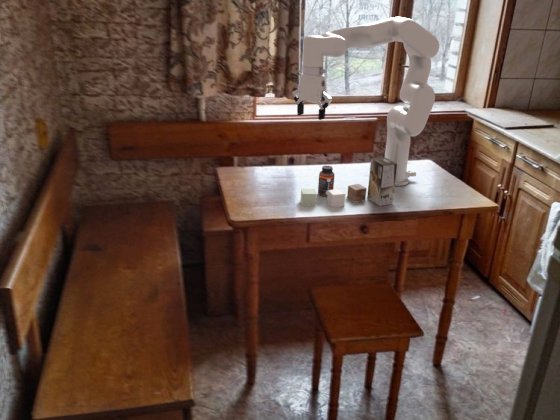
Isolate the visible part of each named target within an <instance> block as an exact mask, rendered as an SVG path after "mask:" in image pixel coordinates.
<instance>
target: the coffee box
mask: <svg viewBox="0 0 560 420" xmlns="http://www.w3.org/2000/svg"><path fill="white" fill-rule="evenodd" d="M369 165H370V167H369V176H368V177H369V178H368V187H367V194H366V195H367V196H366V197H367V199H369V200H370V201H372V202H373V203H374V204H375V205H377V206H379V207H380V206H381V207H382V206H386V205H392V204H393V201H394V193H395V187H396V186H395V178H396V170H397V164H396V163H394V162H392V161H391V160H389V159H387V158H385V156H382V157H373V158H371V159H370V164H369Z"/></svg>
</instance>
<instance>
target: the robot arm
mask: <svg viewBox="0 0 560 420" xmlns="http://www.w3.org/2000/svg"><path fill="white" fill-rule="evenodd" d="M394 42H398V43H399V42H400V43H403V48H404V50H405V52H406V54H407V57H408V62H409V63H408V68H407V72H406V74H405V77H404V80H403V83H402V84H401V88H400V91H399V99H400V101H402V102H403V103H405V104H406V105H409V107H406V106H403V105H396V106H394V107H392V108H391V109H390V110H389V111H388V113H387V117H386V129H387V130H386V133H387V134H386V143H385V150H384V151H385V153H384V157H385V158H387V159H389V160H391V161H392V162H394V163H396V164H397V170H396V178H395V186H394V187H402V186H406V185H408V184H409V183H410V179H409V178H410V177H416V176H417V172H416V171H410V170H407V168H408V163H409V162H408V161H409V154H410V147H411V137H416V136H418V135H420V134H421V133H422V131H423V130H424V128H425V127H426V124H427V122H428V119H429V116H430V115H431V112H432V110H433V108H434V104H435V100H436V94H435V93H436V92H435V90H434V88H433V87H432V86H431V85H429V84H428V80H429V78H430V77H429V76H430V75H431V74H430V73H431V69H432V58H434V57H435V56H437V54H438V52H439V50H440V41H439V40H438V38H437V37H436V36H435V35H433V34H432V33H431V32H430V31H429V30H427V29H426V28H425V27H423V26H422V25H421V24H419V23H417V22H416V21H415V20H413V19H411V18H407V17H402V16H395V17H389V18H385V19H382V20H377V21H375V22H371V23H367V24H361V25H355V26H349V27H348V26H347V27H342V28H339V29H338V28H337V29H334V30H333V29H332V30H330V31H326V32H324V33H322V34H320V35H317V34H316V35H314V34H313V35H312V34H310V35H306V36H305V37H304V39H303V44H302V45H303V46H302V47H303V49H302V51H303V52H302V73H301V74H300V78H299V83H298V88H297V89H296V90H293V91H292V92H291V93H292V96H293V100H294V101H295V103H296V105H297V108H296V111H297V116H302V115H304V112H305V103H304V102H307V103H312V104H317V105H318V107H319V109H318V117H317V118H318V120H320V121H322V120H324V119H325V117H326V109H327V108H328V107H329V106H330V105H331V102H332V100H333V98H332V97H331V96H330V95H329V94H328V93H327V80H326V76H325V75H324V74H326V68H325V69H324V60H325V59H324V58H325V57H330V58H340V57H342V56H343V55H345V53H346V52H347V50H348V49H351V48H356V49H357V48H358V49H371V48H375V47H379V46H382V45H385V44H389V43H394Z"/></svg>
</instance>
